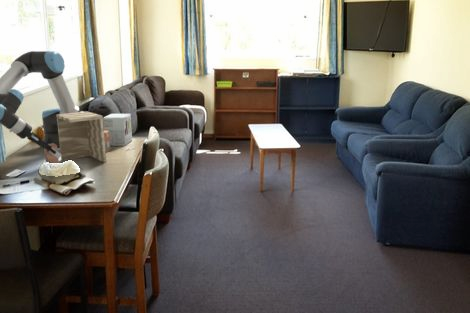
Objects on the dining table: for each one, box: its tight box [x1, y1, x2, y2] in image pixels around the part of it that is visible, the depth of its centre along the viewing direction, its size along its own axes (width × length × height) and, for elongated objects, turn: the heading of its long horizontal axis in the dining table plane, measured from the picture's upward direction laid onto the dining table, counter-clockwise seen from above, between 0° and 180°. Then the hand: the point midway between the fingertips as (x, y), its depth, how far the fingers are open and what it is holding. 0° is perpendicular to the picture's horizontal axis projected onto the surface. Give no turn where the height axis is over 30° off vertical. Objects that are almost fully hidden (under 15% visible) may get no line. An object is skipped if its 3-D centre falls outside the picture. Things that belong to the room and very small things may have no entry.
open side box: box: [57, 111, 107, 163], centre depth 252 cm, size 21×17×26 cm
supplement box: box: [103, 113, 133, 147], centre depth 297 cm, size 17×13×18 cm
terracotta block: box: [43, 143, 60, 164], centre depth 240 cm, size 5×5×10 cm
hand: (57, 155), depth 242 cm, fingers closed on terracotta block, 5 cm apart
